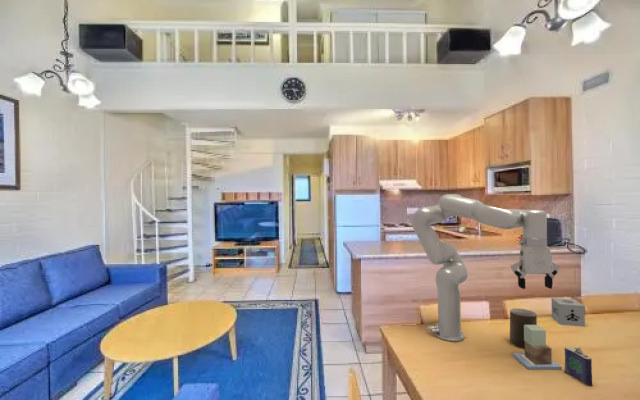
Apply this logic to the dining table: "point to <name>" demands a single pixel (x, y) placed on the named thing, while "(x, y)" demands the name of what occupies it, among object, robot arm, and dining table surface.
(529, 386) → the dining table surface
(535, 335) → the green block
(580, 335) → the dining table surface
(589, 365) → the flask
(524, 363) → the blueprint board
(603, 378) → the dining table surface
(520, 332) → the pillar candle
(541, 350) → the walnut block
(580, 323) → the icon cube
